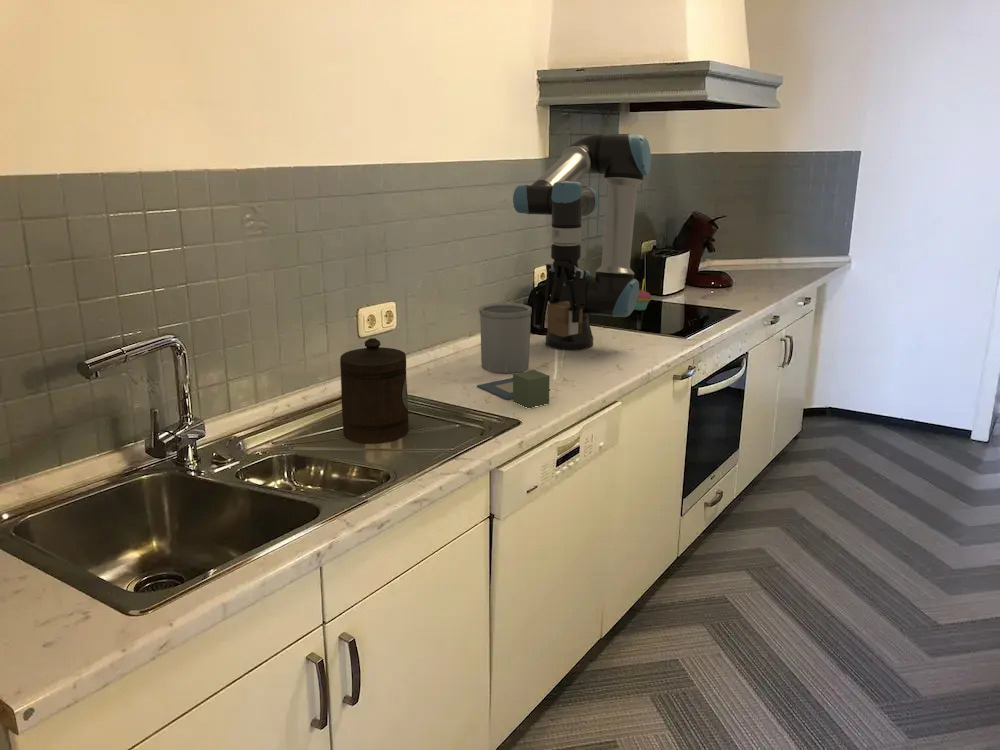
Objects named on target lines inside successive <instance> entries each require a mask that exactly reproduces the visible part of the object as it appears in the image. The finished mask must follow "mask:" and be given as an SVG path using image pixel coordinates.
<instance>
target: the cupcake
mask: <svg viewBox="0 0 1000 750" xmlns="http://www.w3.org/2000/svg"><path fill="white" fill-rule="evenodd" d="M645 281H646V279H645V276H644V277H643V279H642V283H641V284H642V285H641V286H642V287H641V289H639V295H638V299H637V303H636V305H635V308H634V310H633V311H646V309H647V307H648V305H649V303H650V301H651V300H652V295H651V294H650V293H649V292H648V291H646V290H644V289H645Z"/></svg>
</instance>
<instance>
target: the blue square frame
mask: <svg viewBox="0 0 1000 750" xmlns="http://www.w3.org/2000/svg"><path fill="white" fill-rule="evenodd" d="M476 387H477V388H479V389H481V390H483V391H485V390H486V391H485V392H487V391H488V393H489V392H490V394H491V393H492V395H494V396H496V397H498V398H501V400H505V401H506V400H507V401H510V400H513V377H509V378H505V379H500V380H499V379H498V380H495V381H490V382H486V383H481V384H477V385H476ZM550 391H551V388H549V392H550Z"/></svg>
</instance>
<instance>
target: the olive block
mask: <svg viewBox="0 0 1000 750" xmlns="http://www.w3.org/2000/svg"><path fill="white" fill-rule="evenodd" d="M512 378H513V399H512V402H513V403H514V402H515V403H514V404H516V403H517V405H518V404H520V405H522V406H521V407H523V406H524V407H523V408H525V407H527V408H531V409H533V408H532V407H535V406H539V407H541V406H540V405H543V406H545V405H544V404H548V405H549V404H550V391H549V389H550V382H551V381H550V380H551V379H550V375H548V374H546V373H543V372H541V371H539V370H536V369H530V370H524V371H521V372H515V373H512ZM520 405H519V406H520ZM527 408H526V409H527ZM535 408H536V407H535Z"/></svg>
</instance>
